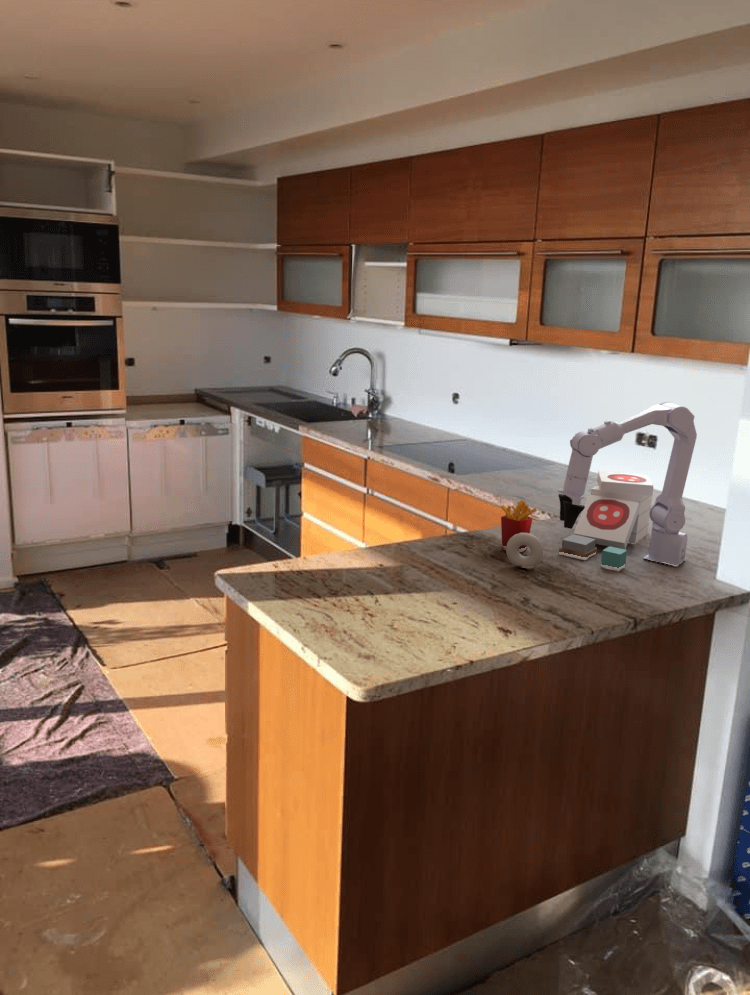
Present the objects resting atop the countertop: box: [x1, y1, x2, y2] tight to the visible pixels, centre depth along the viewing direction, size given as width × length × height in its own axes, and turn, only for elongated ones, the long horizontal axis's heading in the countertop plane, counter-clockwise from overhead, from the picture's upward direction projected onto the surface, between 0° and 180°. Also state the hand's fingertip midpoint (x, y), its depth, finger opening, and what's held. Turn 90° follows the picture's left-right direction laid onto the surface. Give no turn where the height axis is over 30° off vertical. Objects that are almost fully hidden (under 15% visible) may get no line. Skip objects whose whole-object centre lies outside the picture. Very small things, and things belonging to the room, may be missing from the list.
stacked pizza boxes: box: [573, 470, 654, 550], centre depth 252 cm, size 19×30×18 cm, turn 148°
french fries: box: [500, 499, 537, 549], centre depth 237 cm, size 9×8×15 cm
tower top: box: [561, 533, 596, 553], centre depth 237 cm, size 7×7×2 cm
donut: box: [505, 533, 544, 567], centre depth 223 cm, size 10×4×10 cm, turn 68°
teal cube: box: [600, 546, 628, 568], centre depth 227 cm, size 5×5×5 cm
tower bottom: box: [558, 546, 598, 557], centre depth 238 cm, size 8×8×2 cm
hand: (565, 524), depth 229 cm, fingers open, 7 cm apart
